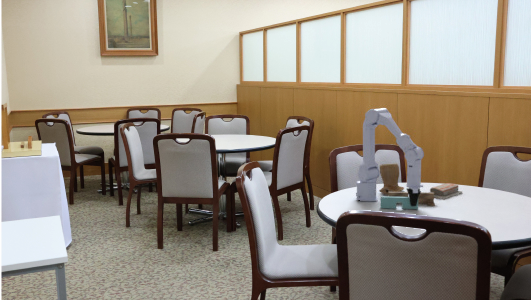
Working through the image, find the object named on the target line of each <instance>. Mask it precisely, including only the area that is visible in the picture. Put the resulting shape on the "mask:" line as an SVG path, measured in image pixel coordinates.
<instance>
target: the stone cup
mask: <svg viewBox="0 0 531 300" xmlns="http://www.w3.org/2000/svg"><path fill="white" fill-rule="evenodd" d="M379 172H380V176H381V177H380V178H381V180H382V184H383V186H382V188H381V189H379V192H380V193H382V194H383V195H385V194H386V196H388V192H403V191H404V190H405V187H403V186H400V185H399V179H400V178H399V177H400V167H399V164H398V163H396V162H395V163H383V164H380V165H379Z"/></svg>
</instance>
